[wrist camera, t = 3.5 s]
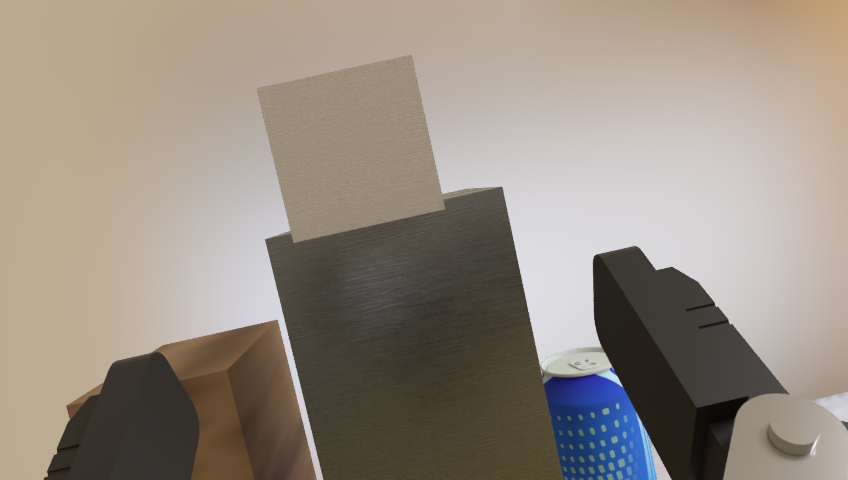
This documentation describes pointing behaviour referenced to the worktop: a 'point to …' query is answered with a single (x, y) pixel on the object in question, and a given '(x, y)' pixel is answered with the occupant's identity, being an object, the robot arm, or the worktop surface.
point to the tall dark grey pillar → (418, 347)
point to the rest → (240, 405)
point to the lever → (351, 148)
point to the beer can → (594, 419)
